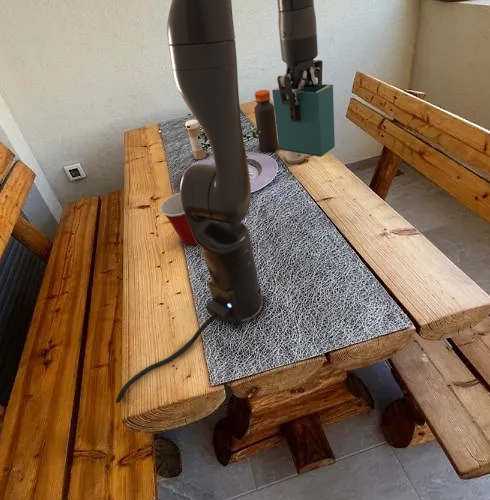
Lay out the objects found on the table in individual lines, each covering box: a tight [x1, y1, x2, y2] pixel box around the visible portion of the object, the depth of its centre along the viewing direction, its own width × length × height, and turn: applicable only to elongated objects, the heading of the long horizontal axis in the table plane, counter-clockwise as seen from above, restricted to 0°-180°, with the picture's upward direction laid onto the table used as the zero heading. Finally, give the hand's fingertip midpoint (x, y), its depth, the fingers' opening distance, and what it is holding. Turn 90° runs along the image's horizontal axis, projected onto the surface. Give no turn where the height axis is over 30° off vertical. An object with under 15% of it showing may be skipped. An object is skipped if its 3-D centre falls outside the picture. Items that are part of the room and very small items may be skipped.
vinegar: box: [253, 89, 279, 153], centre depth 135 cm, size 7×7×20 cm
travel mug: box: [284, 151, 306, 165], centre depth 125 cm, size 6×7×20 cm
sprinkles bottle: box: [184, 119, 207, 160], centre depth 139 cm, size 5×5×13 cm
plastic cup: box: [159, 191, 197, 246], centre depth 101 cm, size 11×11×12 cm
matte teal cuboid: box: [271, 83, 336, 158], centre depth 89 cm, size 6×14×12 cm
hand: (304, 116), depth 89 cm, fingers closed on matte teal cuboid, 6 cm apart
